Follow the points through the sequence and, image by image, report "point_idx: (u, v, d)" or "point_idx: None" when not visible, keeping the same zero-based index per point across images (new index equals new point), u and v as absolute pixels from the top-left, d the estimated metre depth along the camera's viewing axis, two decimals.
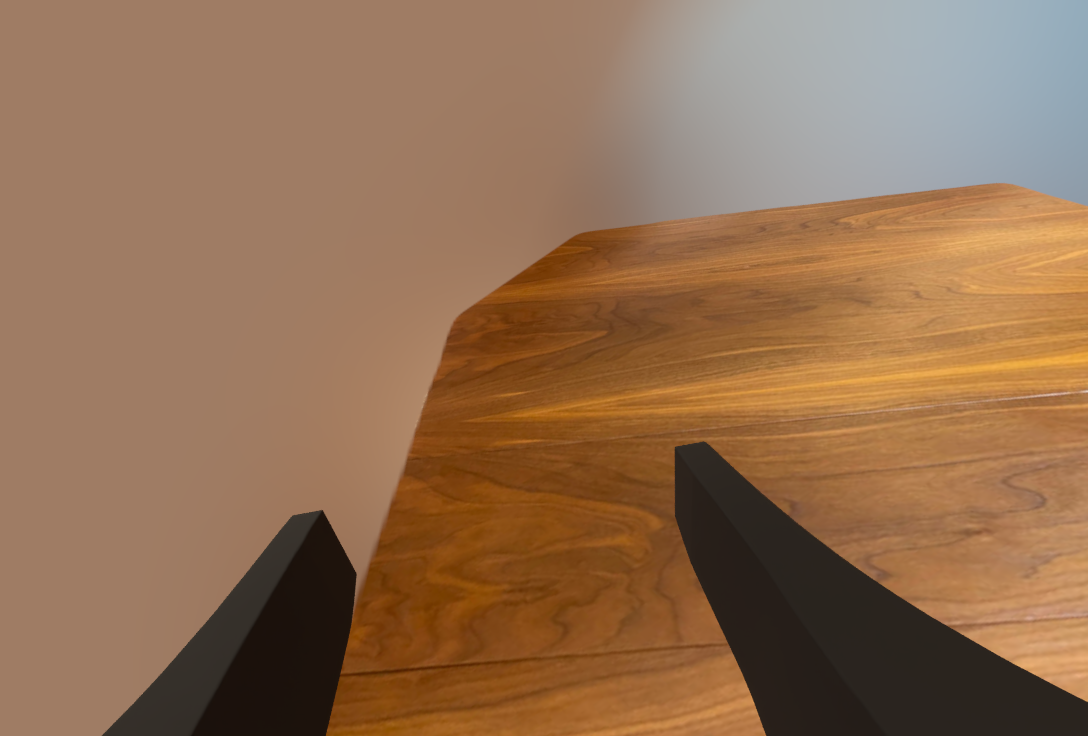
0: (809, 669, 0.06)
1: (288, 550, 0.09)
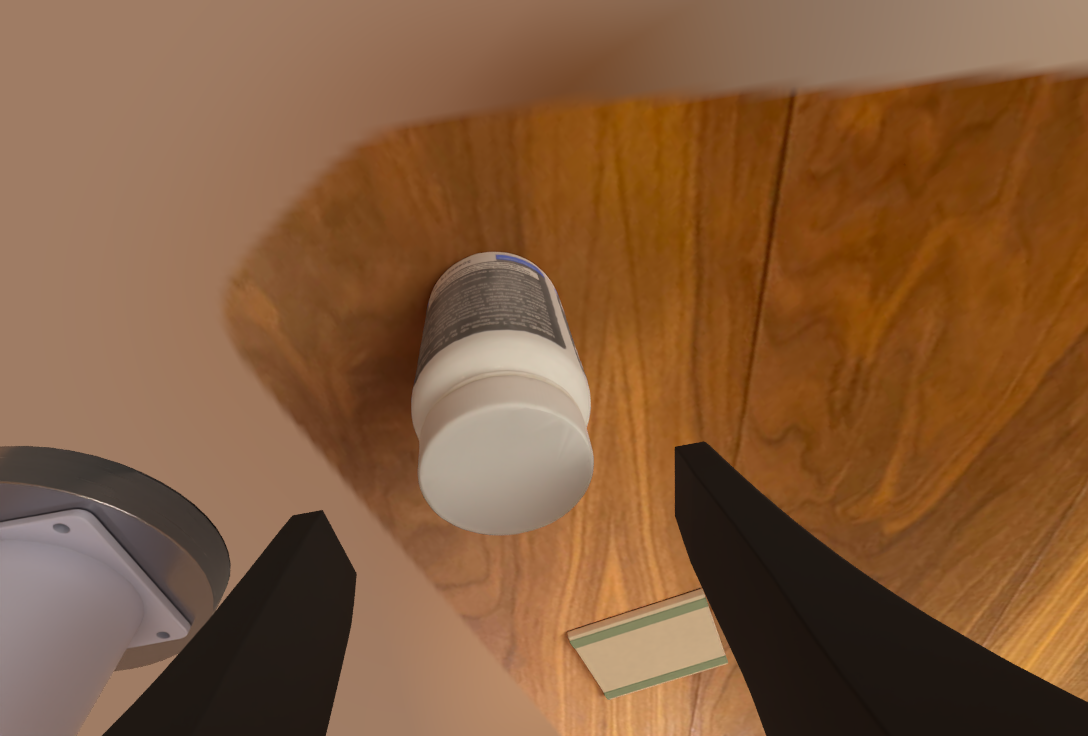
0: (809, 669, 0.06)
1: (288, 551, 0.09)
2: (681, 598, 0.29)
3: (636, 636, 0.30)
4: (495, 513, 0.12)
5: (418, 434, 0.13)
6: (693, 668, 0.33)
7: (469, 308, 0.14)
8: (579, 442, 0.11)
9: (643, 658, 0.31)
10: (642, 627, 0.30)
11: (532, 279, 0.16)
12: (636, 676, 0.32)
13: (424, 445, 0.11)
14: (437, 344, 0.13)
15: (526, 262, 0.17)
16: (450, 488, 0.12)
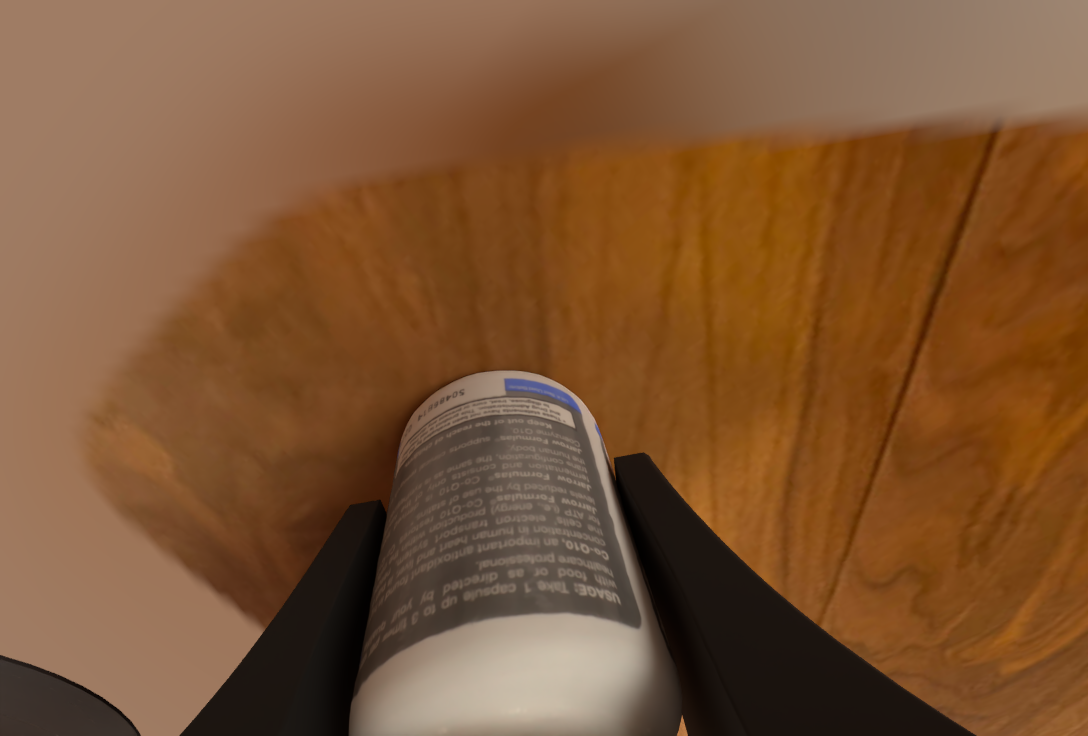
0: (710, 687, 0.06)
1: (353, 539, 0.09)
2: None
3: None
4: None
5: None
6: None
7: (461, 526, 0.08)
8: None
9: None
10: None
11: (565, 432, 0.10)
12: None
13: None
14: (397, 619, 0.07)
15: (552, 389, 0.11)
16: None
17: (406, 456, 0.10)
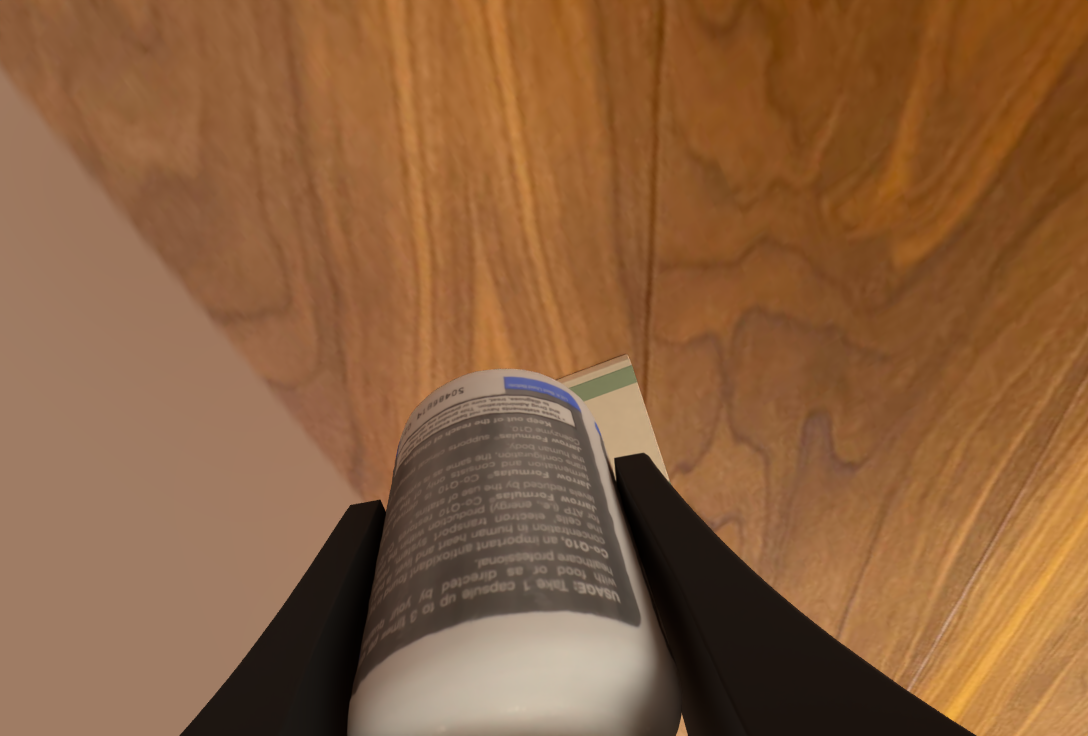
0: (710, 687, 0.06)
1: (353, 539, 0.09)
2: (597, 367, 0.20)
3: None
4: None
5: None
6: None
7: (459, 524, 0.08)
8: None
9: None
10: None
11: (565, 430, 0.10)
12: None
13: None
14: (396, 617, 0.07)
15: (552, 387, 0.11)
16: None
17: (405, 454, 0.10)
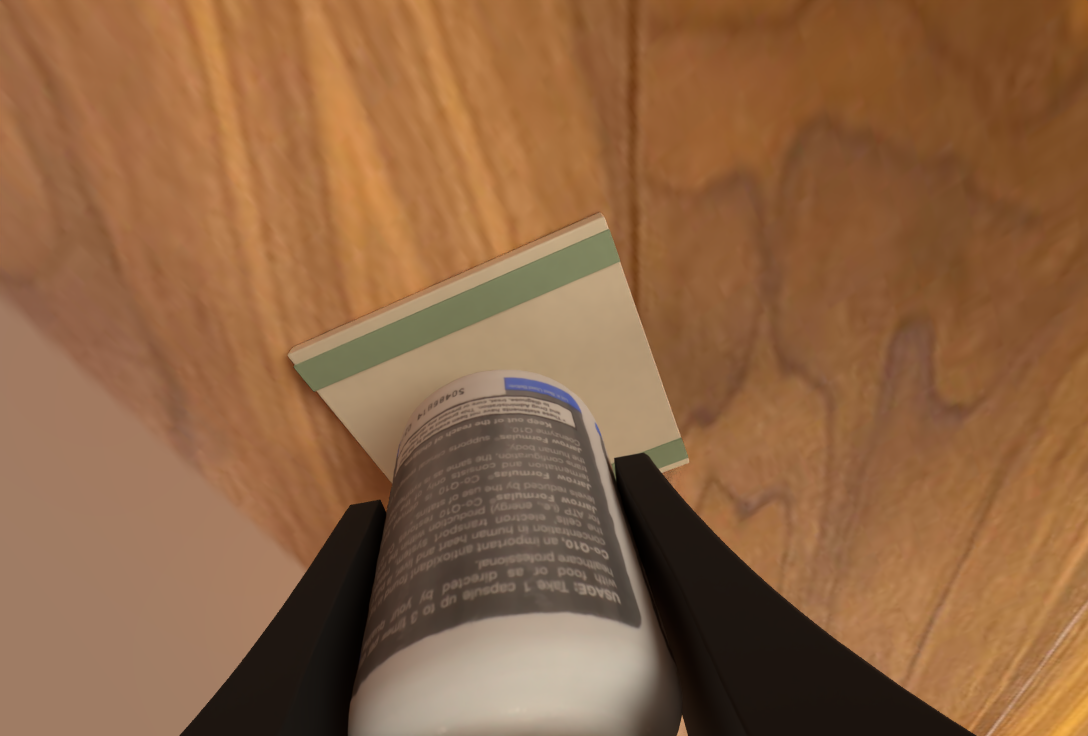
0: (710, 688, 0.06)
1: (353, 540, 0.09)
2: (550, 236, 0.12)
3: (460, 362, 0.13)
4: None
5: None
6: (614, 471, 0.15)
7: (460, 526, 0.08)
8: None
9: None
10: (466, 329, 0.12)
11: (565, 431, 0.10)
12: None
13: None
14: (396, 618, 0.07)
15: (552, 388, 0.11)
16: None
17: (406, 455, 0.10)
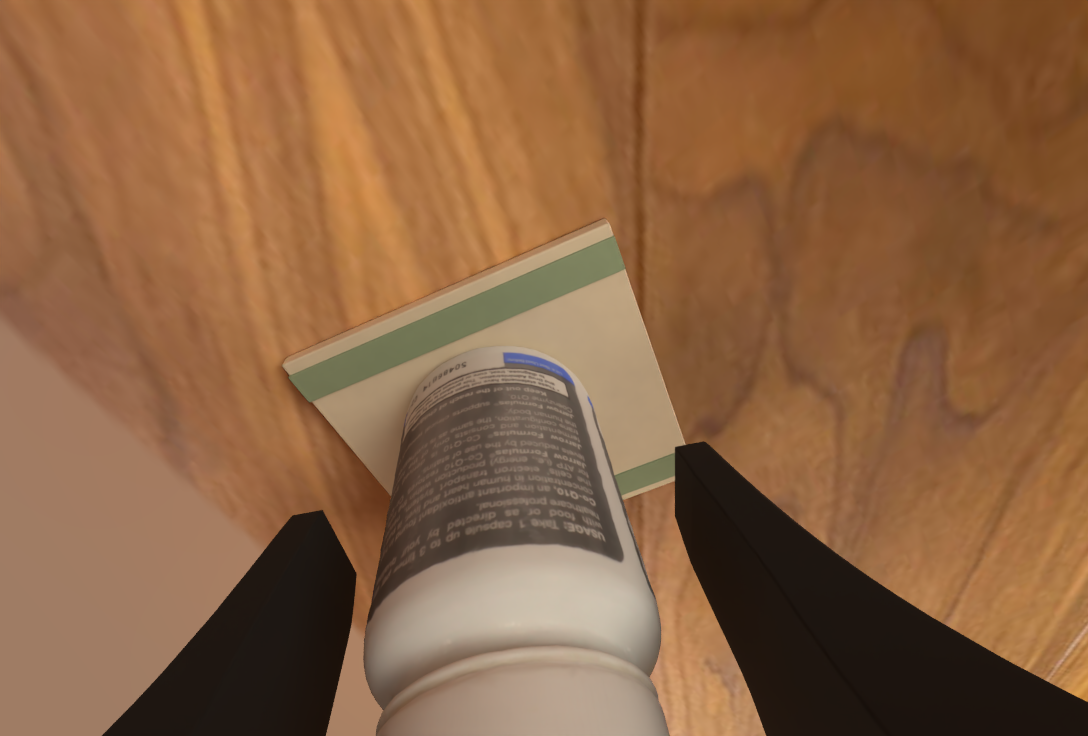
0: (809, 669, 0.06)
1: (288, 551, 0.09)
2: (553, 243, 0.11)
3: None
4: None
5: (375, 699, 0.08)
6: (618, 482, 0.15)
7: (462, 476, 0.08)
8: None
9: None
10: (466, 338, 0.12)
11: (559, 399, 0.11)
12: None
13: None
14: (407, 553, 0.08)
15: (548, 362, 0.12)
16: None
17: (412, 422, 0.11)
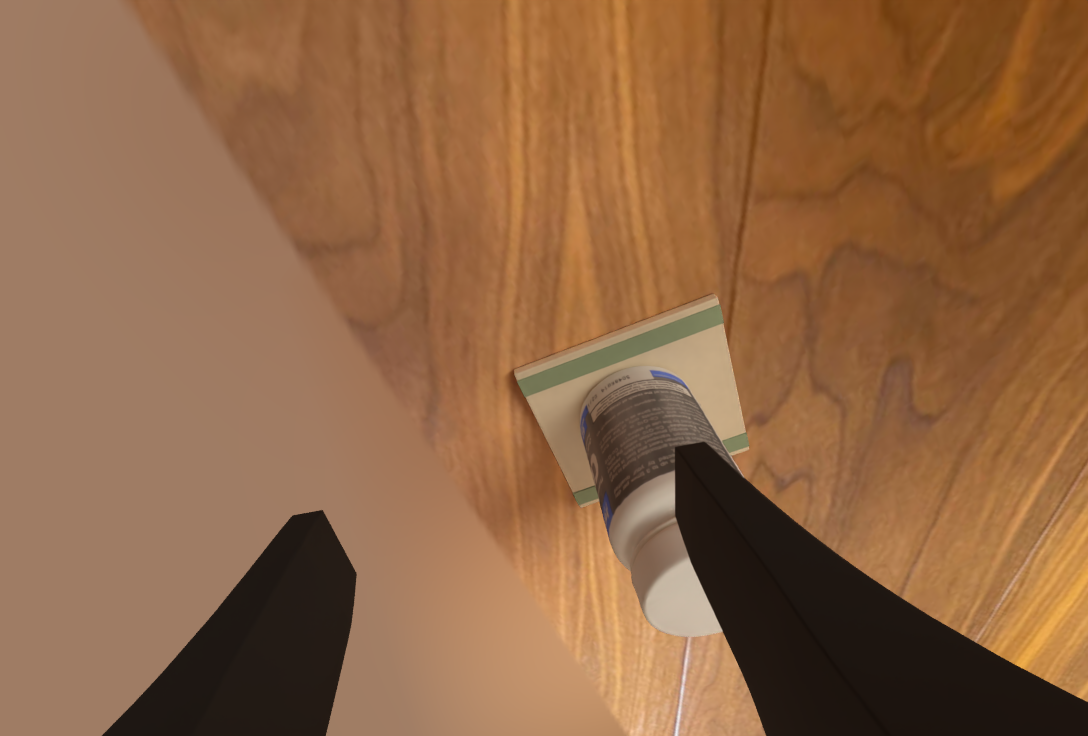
0: (809, 669, 0.06)
1: (288, 551, 0.09)
2: (683, 307, 0.19)
3: None
4: (694, 622, 0.15)
5: (617, 546, 0.16)
6: None
7: (656, 436, 0.16)
8: None
9: None
10: (625, 361, 0.20)
11: (689, 398, 0.19)
12: None
13: (655, 574, 0.14)
14: (637, 473, 0.16)
15: (674, 376, 0.20)
16: (667, 605, 0.14)
17: (601, 410, 0.19)
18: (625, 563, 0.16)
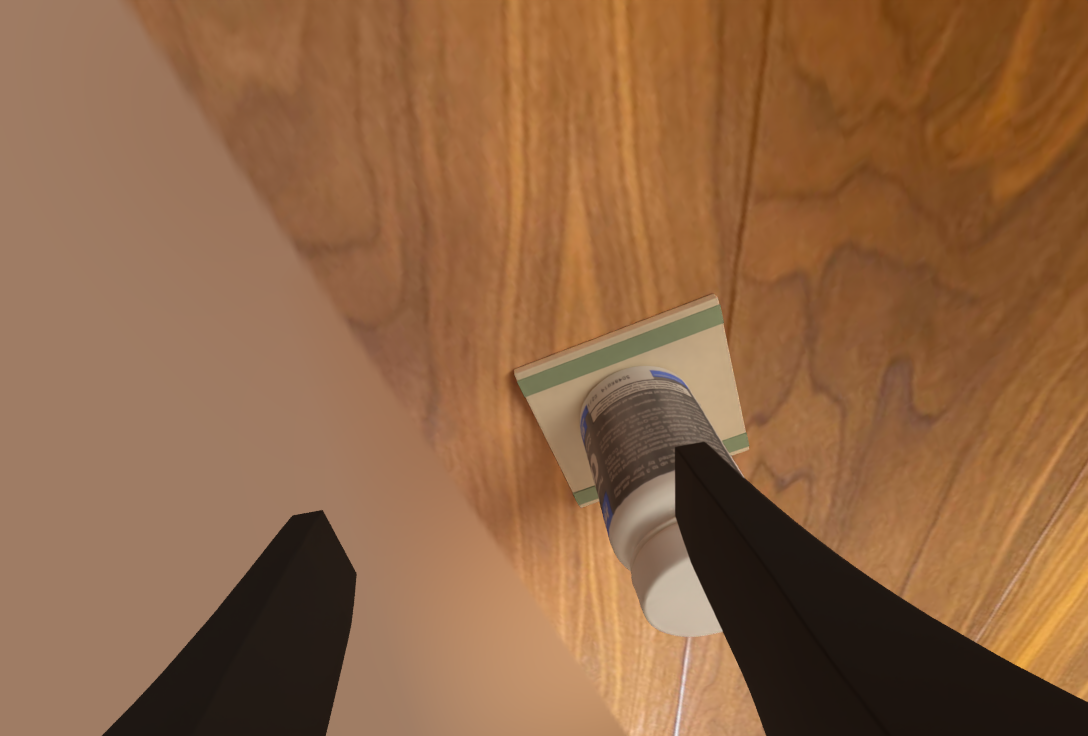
0: (809, 669, 0.06)
1: (288, 551, 0.09)
2: (683, 307, 0.19)
3: None
4: (694, 621, 0.15)
5: (617, 546, 0.16)
6: None
7: (656, 436, 0.16)
8: None
9: None
10: (625, 361, 0.20)
11: (689, 398, 0.19)
12: None
13: (655, 574, 0.14)
14: (637, 473, 0.16)
15: (674, 376, 0.20)
16: (667, 605, 0.14)
17: (601, 410, 0.19)
18: (625, 563, 0.16)
